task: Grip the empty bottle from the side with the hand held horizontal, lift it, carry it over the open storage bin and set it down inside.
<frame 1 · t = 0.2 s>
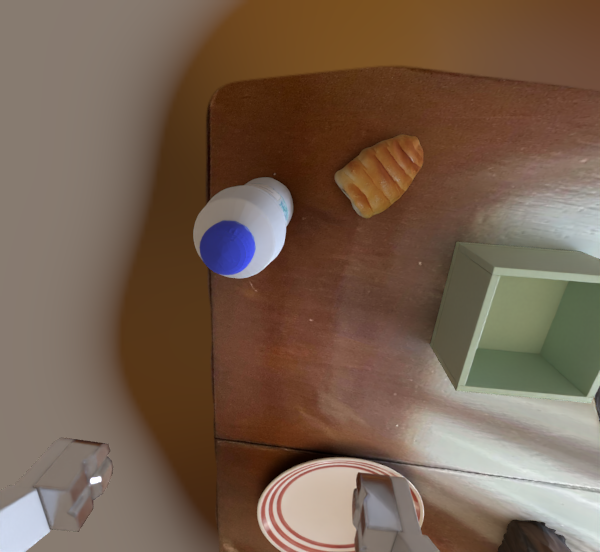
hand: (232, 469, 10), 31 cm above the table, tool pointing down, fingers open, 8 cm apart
pastry: (374, 175, 37), on the table
bottle: (268, 203, 38), on the table
open storage bin: (499, 301, 41), on the table
brown carved statue: (524, 541, 58), on the table
dinner plate: (338, 499, 56), on the table
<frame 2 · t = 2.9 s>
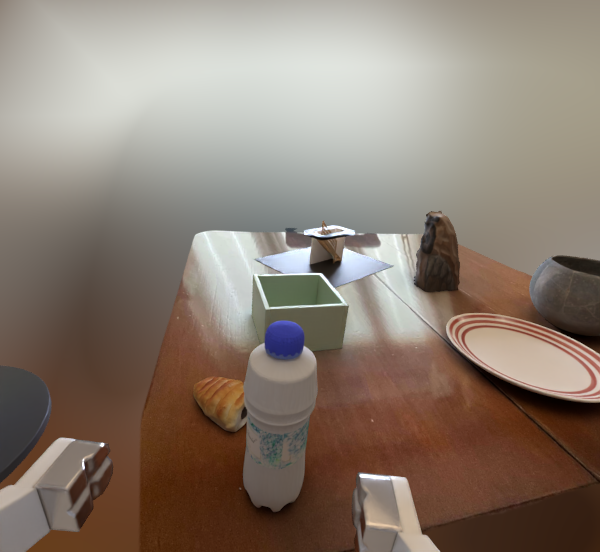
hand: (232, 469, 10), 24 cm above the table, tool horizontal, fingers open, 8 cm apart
pastry: (226, 409, 44), on the table
bottle: (272, 488, 35), on the table
architectural model: (325, 263, 102), on the table
open storage bin: (293, 330, 64), on the table
brown carved statue: (433, 285, 92), on the table
bowl: (568, 327, 76), on the table
dinner plate: (519, 361, 61), on the table
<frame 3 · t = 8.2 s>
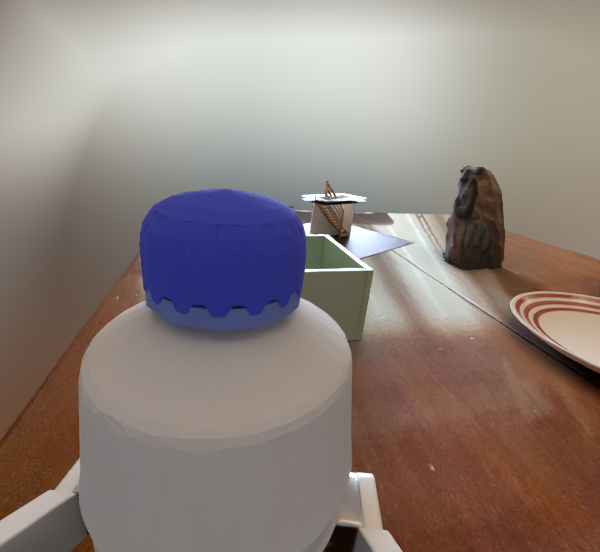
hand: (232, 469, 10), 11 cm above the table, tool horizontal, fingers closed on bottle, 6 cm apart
architectural model: (330, 238, 82), on the table
open storage bin: (288, 314, 43), on the table
brown carved statue: (468, 263, 72), on the table
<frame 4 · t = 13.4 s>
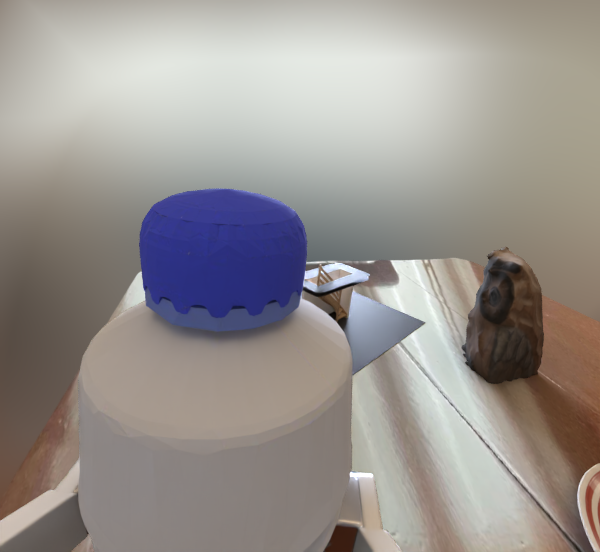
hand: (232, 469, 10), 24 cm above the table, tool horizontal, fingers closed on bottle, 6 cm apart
architectural model: (324, 322, 67), on the table
brown carved statue: (495, 365, 58), on the table
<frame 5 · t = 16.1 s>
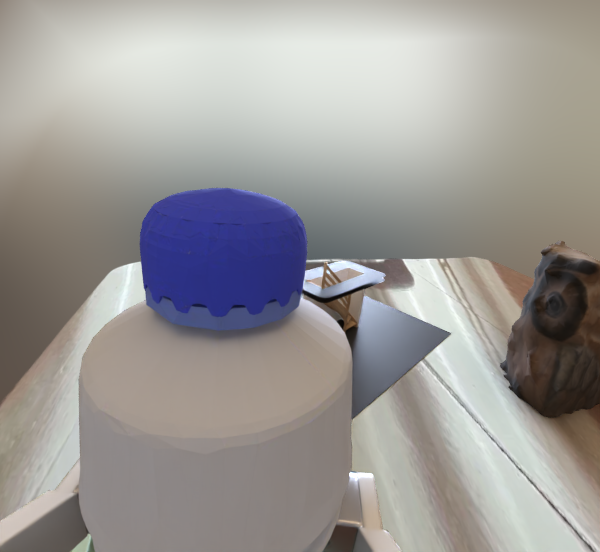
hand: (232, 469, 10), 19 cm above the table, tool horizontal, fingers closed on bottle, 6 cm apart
architectural model: (329, 332, 55), on the table
brown carved statue: (547, 390, 46), on the table
when the fingers open (12 cm above the table, at t = 18.6 s): bottle stays where it is, resting on open storage bin.
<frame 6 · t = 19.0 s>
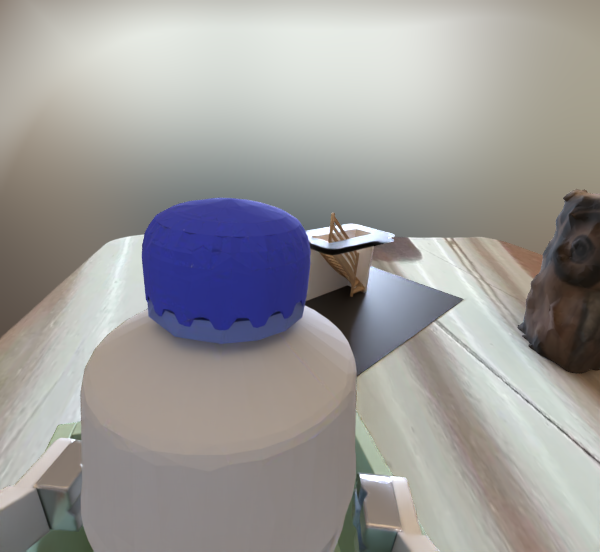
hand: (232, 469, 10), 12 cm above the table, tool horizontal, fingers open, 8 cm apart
architectural model: (336, 296, 53), on the table
brown carved statue: (569, 350, 43), on the table
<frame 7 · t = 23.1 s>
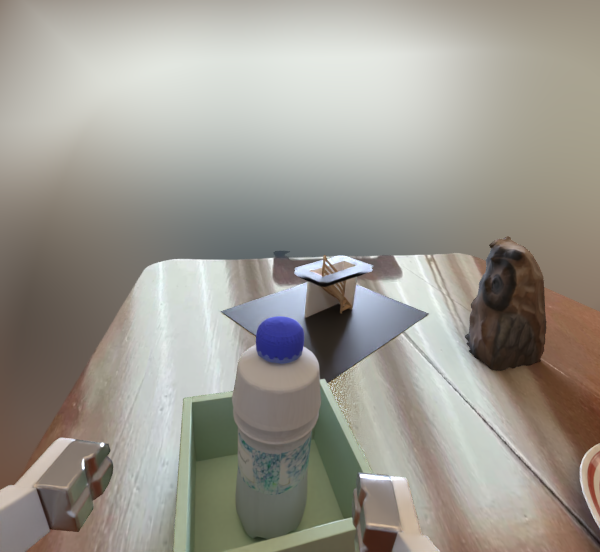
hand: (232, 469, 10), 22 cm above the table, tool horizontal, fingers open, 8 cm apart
bottle: (270, 513, 30), point 1 cm above the table, touching open storage bin
architectural model: (329, 313, 68), on the table
open storage bin: (268, 517, 30), on the table
brown carved statue: (499, 353, 59), on the table
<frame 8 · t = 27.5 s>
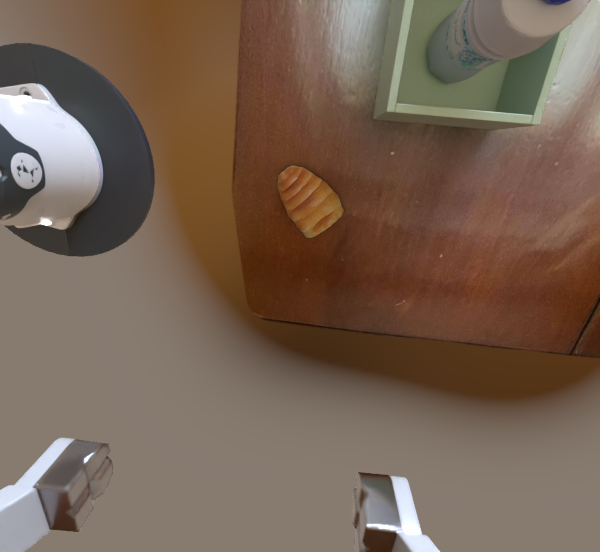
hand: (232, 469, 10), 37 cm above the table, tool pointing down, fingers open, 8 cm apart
pastry: (309, 202, 44), on the table
bottle: (450, 54, 36), point 1 cm above the table, touching open storage bin
open storage bin: (447, 54, 37), on the table
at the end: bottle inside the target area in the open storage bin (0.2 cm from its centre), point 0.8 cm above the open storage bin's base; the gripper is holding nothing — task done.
